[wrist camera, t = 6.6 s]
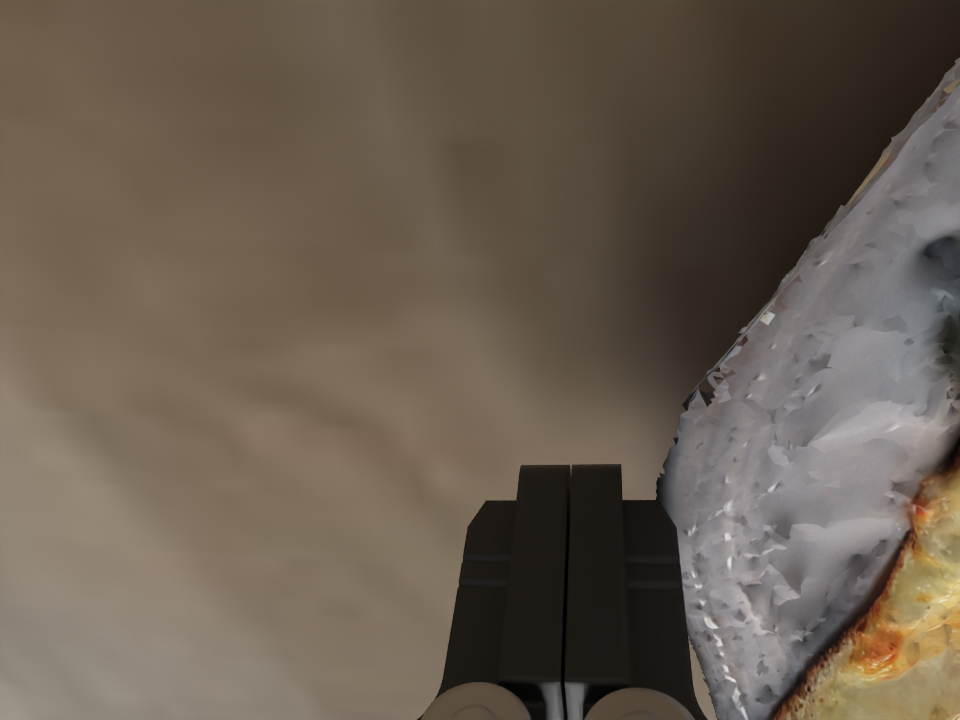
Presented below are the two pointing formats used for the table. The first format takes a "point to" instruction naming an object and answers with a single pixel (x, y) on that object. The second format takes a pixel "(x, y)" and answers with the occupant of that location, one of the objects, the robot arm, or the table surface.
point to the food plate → (837, 462)
